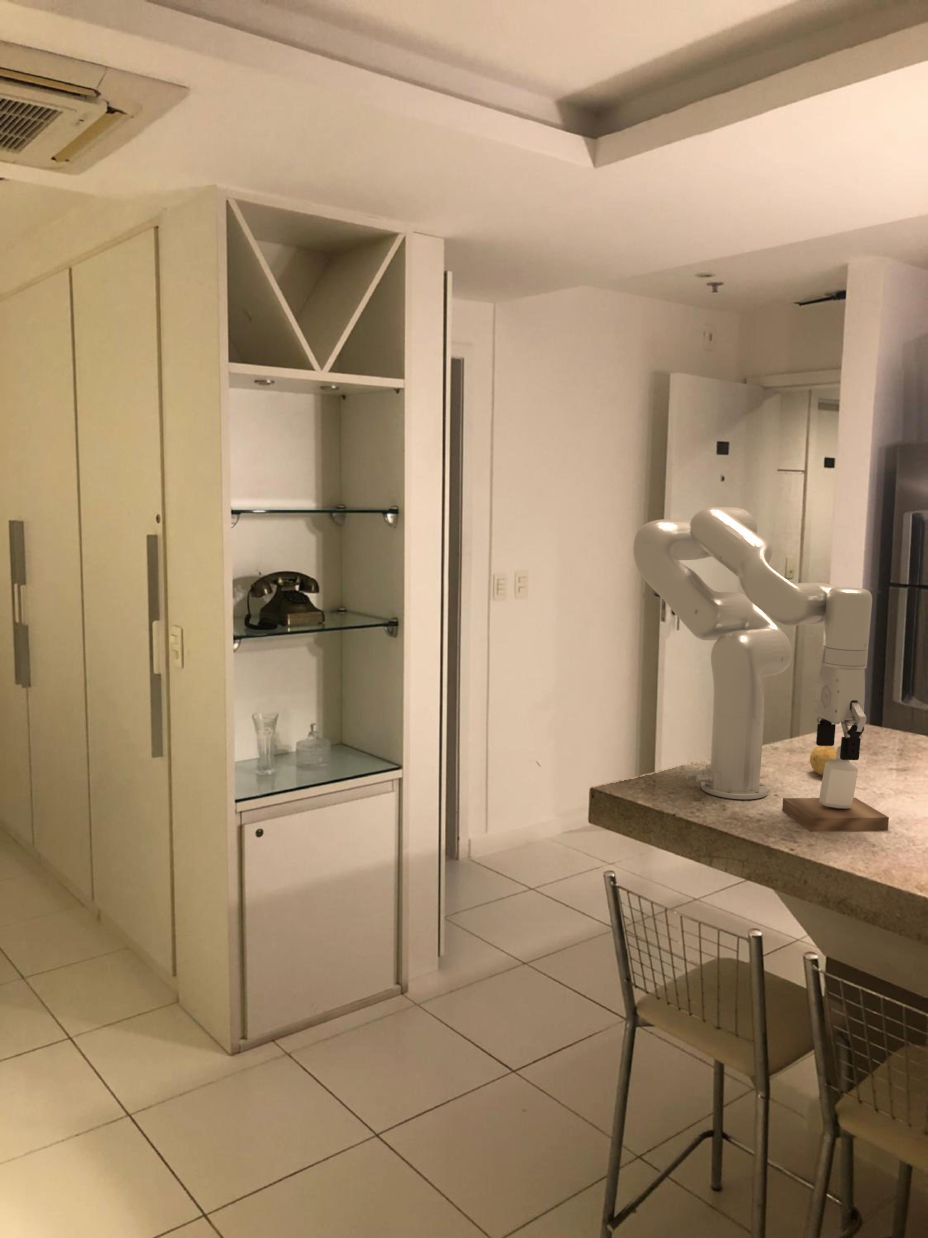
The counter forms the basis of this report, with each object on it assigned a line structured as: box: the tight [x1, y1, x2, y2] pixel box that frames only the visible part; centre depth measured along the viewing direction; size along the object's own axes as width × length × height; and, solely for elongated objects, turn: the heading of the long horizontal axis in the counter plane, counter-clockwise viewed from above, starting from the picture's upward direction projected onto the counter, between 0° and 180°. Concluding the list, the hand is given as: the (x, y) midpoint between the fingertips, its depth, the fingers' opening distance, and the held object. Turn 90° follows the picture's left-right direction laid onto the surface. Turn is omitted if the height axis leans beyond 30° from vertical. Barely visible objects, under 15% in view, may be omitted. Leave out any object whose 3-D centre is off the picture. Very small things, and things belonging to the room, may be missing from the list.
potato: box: [809, 746, 837, 776], centre depth 214 cm, size 7×11×6 cm, turn 157°
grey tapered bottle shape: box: [818, 745, 859, 809], centre depth 182 cm, size 4×6×12 cm
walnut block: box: [781, 797, 890, 832], centre depth 183 cm, size 14×12×3 cm
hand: (836, 752), depth 182 cm, fingers open, 9 cm apart
